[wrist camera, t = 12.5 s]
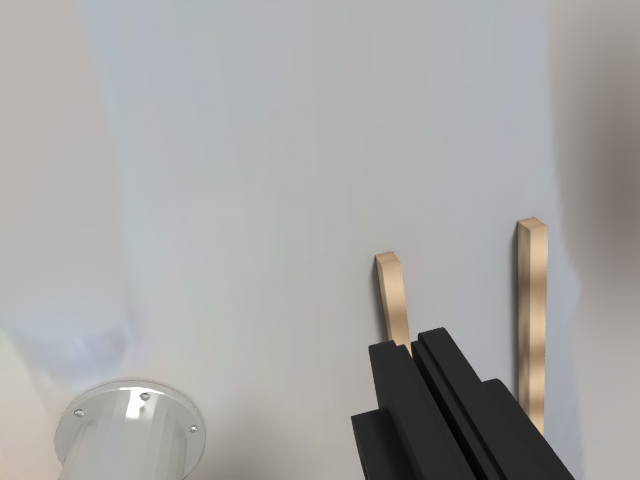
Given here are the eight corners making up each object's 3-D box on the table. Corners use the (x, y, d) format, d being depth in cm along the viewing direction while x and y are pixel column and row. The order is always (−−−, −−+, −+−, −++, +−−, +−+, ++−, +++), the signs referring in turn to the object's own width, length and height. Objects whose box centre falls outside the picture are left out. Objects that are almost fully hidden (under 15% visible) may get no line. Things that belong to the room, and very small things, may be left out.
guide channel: (532, 442, 53) (542, 457, 51) (408, 476, 52) (414, 492, 50) (534, 217, 41) (548, 226, 39) (375, 255, 40) (381, 266, 38)
